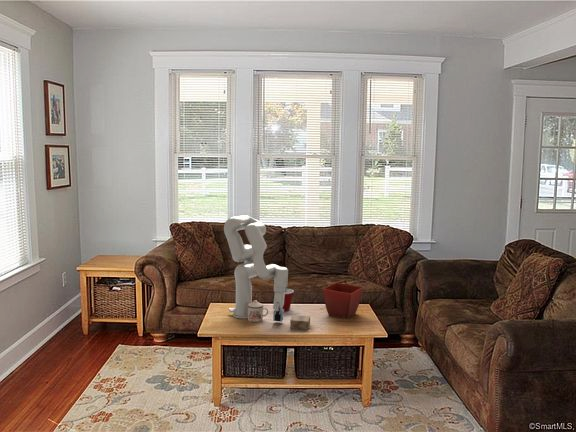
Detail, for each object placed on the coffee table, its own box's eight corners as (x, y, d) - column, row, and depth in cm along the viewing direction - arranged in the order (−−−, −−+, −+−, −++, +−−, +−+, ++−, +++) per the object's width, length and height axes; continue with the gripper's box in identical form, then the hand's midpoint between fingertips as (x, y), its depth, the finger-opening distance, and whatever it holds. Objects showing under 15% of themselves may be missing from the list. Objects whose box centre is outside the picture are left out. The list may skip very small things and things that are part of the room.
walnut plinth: (290, 328, 300) (290, 320, 299) (292, 323, 310) (292, 314, 309) (307, 330, 298) (308, 321, 298) (309, 324, 308) (310, 316, 308)
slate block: (273, 320, 307) (273, 310, 306) (274, 318, 312) (275, 308, 311) (281, 321, 306) (282, 311, 305) (283, 319, 311) (283, 309, 310)
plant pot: (349, 321, 316) (350, 293, 314) (320, 315, 326) (321, 288, 324) (362, 313, 332) (363, 287, 330) (335, 308, 342) (335, 282, 340)
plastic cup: (275, 307, 342) (275, 288, 341) (292, 306, 343) (292, 288, 342) (276, 311, 331) (277, 292, 330) (294, 311, 333) (294, 292, 331)
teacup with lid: (247, 322, 310) (247, 302, 309) (248, 317, 319) (248, 298, 318) (267, 322, 310) (268, 302, 309) (268, 317, 319) (268, 298, 318)
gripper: (276, 284, 315) (274, 314, 318) (271, 291, 299) (269, 323, 301) (289, 285, 314) (287, 315, 317) (284, 293, 298) (282, 324, 300)
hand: (278, 319), depth 309 cm, fingers closed on slate block, 5 cm apart
